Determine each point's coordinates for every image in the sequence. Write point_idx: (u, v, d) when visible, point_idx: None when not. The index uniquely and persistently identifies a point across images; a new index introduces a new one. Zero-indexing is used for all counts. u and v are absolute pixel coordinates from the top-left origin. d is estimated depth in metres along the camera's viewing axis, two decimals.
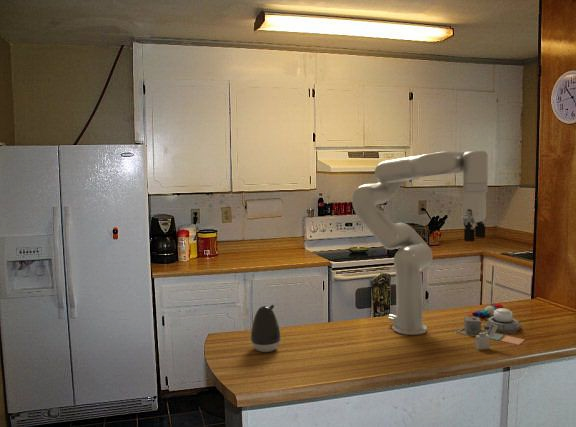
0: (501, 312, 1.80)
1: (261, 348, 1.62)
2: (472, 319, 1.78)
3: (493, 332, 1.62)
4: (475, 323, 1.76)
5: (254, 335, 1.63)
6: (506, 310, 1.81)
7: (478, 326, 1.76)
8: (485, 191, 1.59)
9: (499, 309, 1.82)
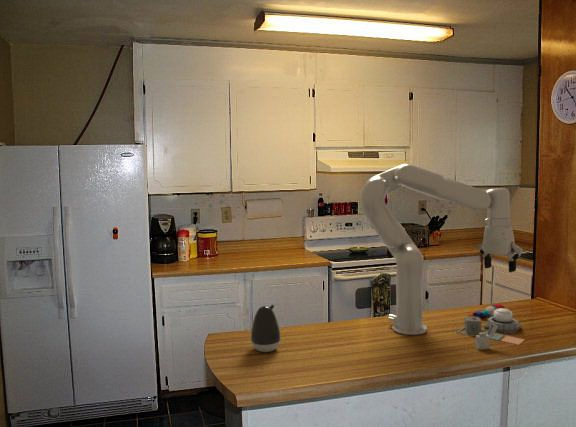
0: (501, 312, 1.80)
1: (261, 348, 1.62)
2: (472, 319, 1.78)
3: (493, 332, 1.62)
4: (475, 323, 1.76)
5: (254, 335, 1.63)
6: (506, 310, 1.81)
7: (478, 326, 1.76)
8: None
9: (499, 309, 1.82)
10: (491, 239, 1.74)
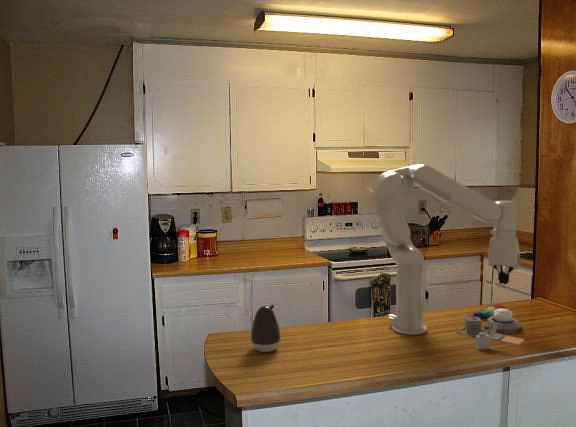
0: (501, 312, 1.80)
1: (261, 348, 1.62)
2: (472, 319, 1.78)
3: (493, 332, 1.62)
4: (475, 323, 1.76)
5: (254, 335, 1.63)
6: (506, 310, 1.81)
7: (478, 326, 1.76)
8: None
9: (499, 309, 1.82)
10: (498, 250, 1.78)
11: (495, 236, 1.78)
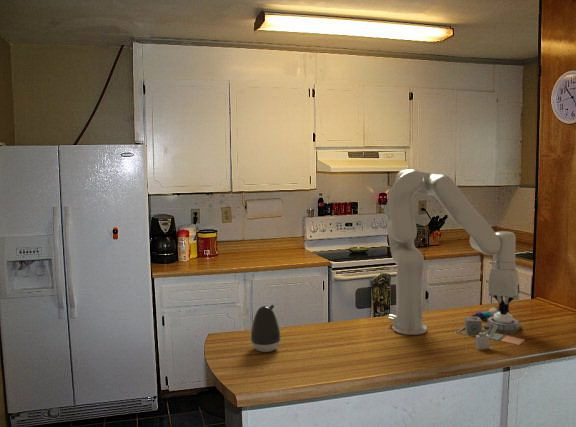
0: (501, 315, 1.80)
1: (261, 348, 1.62)
2: (473, 319, 1.78)
3: (493, 332, 1.62)
4: (476, 323, 1.76)
5: (254, 335, 1.63)
6: None
7: (479, 326, 1.76)
8: None
9: (499, 312, 1.82)
10: (498, 281, 1.79)
11: (495, 267, 1.79)
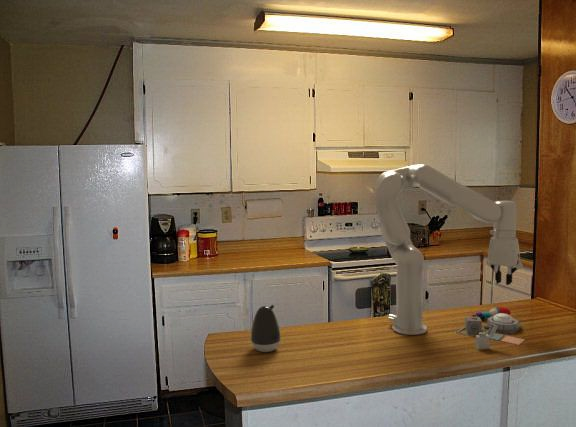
0: (501, 317, 1.80)
1: (261, 348, 1.62)
2: (473, 319, 1.78)
3: (493, 332, 1.62)
4: (476, 323, 1.76)
5: (254, 335, 1.63)
6: (506, 315, 1.81)
7: (479, 326, 1.76)
8: None
9: (499, 314, 1.82)
10: (498, 250, 1.78)
11: (495, 236, 1.78)
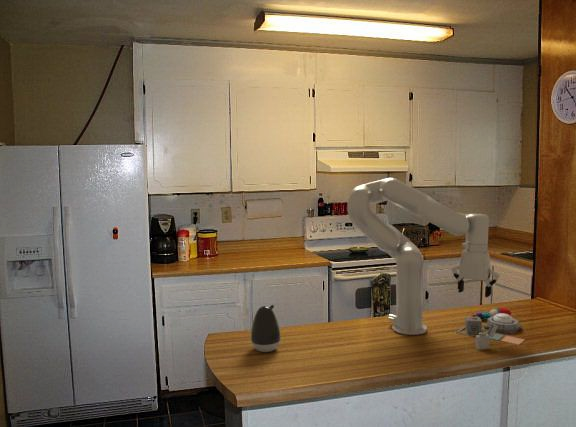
0: (501, 317, 1.80)
1: (261, 348, 1.62)
2: (473, 319, 1.78)
3: (493, 332, 1.62)
4: (476, 323, 1.76)
5: (254, 335, 1.63)
6: (506, 315, 1.81)
7: (479, 326, 1.76)
8: None
9: (499, 314, 1.82)
10: (469, 264, 1.75)
11: (467, 249, 1.75)
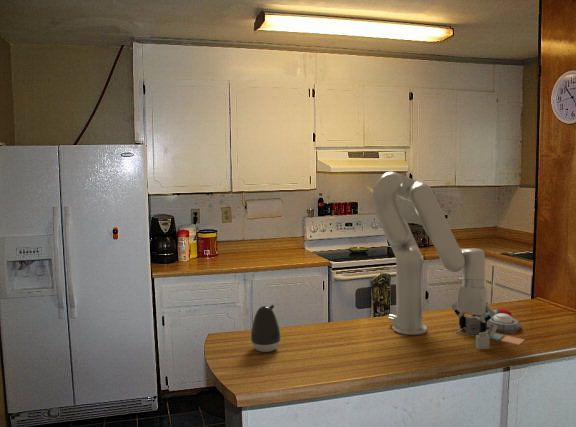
0: (501, 317, 1.80)
1: (261, 348, 1.62)
2: (473, 319, 1.78)
3: (493, 332, 1.62)
4: (475, 323, 1.76)
5: (254, 335, 1.63)
6: (506, 315, 1.81)
7: (478, 326, 1.76)
8: None
9: (499, 314, 1.82)
10: (466, 299, 1.76)
11: (463, 284, 1.76)
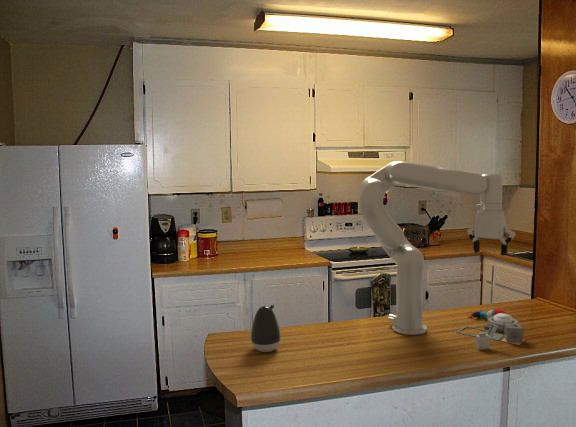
0: (501, 317, 1.80)
1: (261, 348, 1.62)
2: (513, 326, 1.68)
3: (493, 332, 1.62)
4: (516, 330, 1.66)
5: (254, 335, 1.63)
6: (506, 315, 1.81)
7: (519, 333, 1.66)
8: None
9: (499, 314, 1.82)
10: (484, 223, 1.77)
11: (481, 209, 1.77)
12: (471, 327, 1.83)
